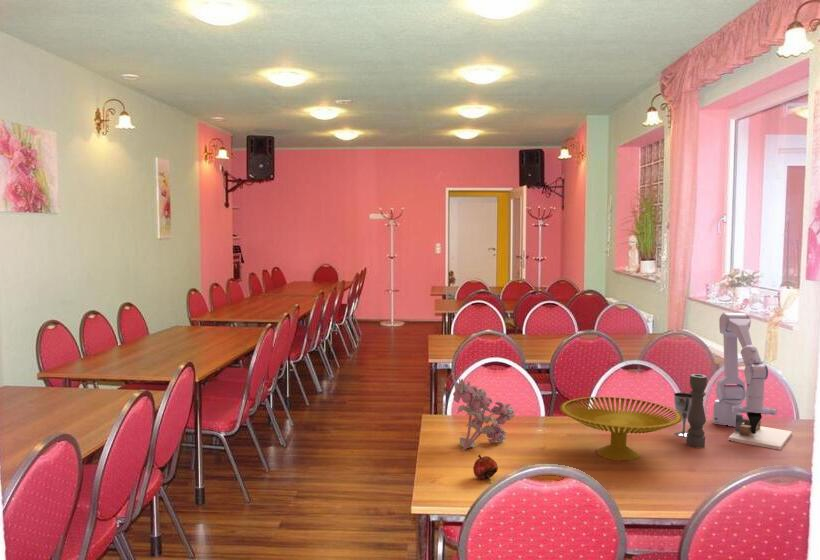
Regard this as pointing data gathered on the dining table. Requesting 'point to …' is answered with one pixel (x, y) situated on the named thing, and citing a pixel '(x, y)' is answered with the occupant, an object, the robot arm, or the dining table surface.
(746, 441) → the white plate
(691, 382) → the candle holder
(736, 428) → the metal keeper
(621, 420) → the pedestal fruit bowl
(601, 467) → the dining table surface
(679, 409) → the wine glass
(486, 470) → the pomegranate
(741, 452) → the dining table surface
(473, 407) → the flower
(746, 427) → the walnut link
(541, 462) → the dining table surface
